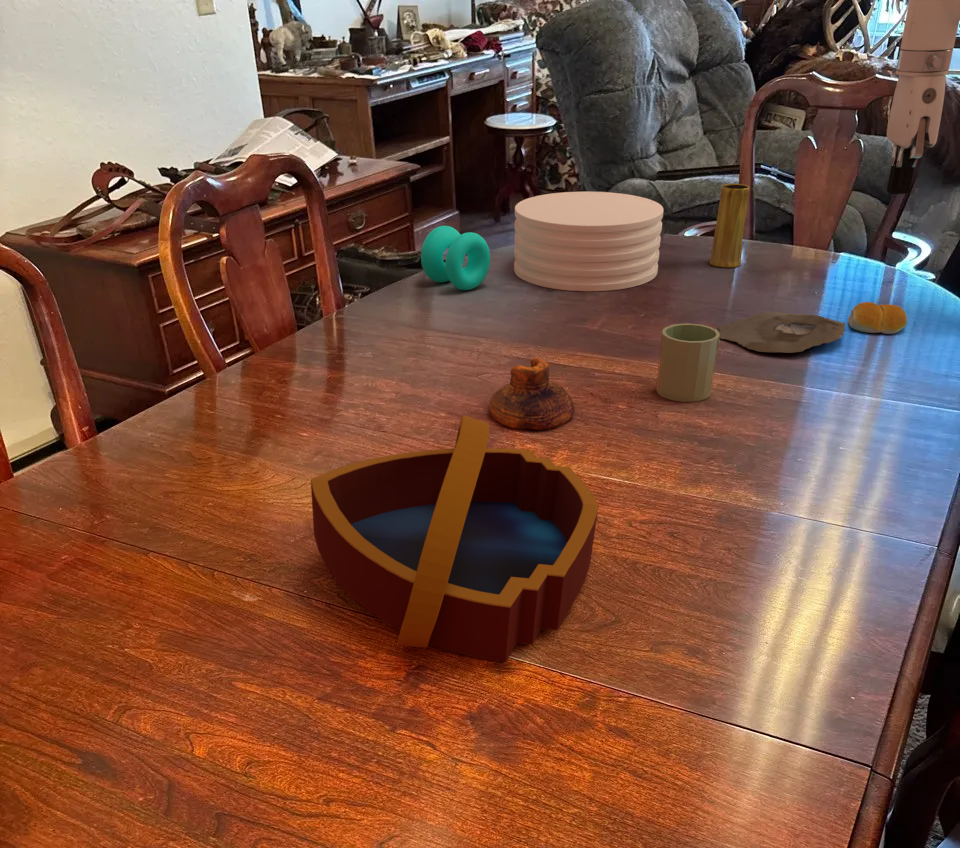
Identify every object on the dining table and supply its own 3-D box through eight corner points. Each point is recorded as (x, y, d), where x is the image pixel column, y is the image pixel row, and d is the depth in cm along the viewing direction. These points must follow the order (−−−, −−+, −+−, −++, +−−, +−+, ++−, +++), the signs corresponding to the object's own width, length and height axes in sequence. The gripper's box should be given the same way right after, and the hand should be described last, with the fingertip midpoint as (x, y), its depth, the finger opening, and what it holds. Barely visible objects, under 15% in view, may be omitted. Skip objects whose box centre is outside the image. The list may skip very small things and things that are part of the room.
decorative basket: (564, 702, 85) (601, 561, 76) (252, 632, 87) (252, 486, 78) (593, 522, 112) (623, 403, 103) (355, 471, 114) (364, 349, 105)
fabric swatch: (699, 338, 159) (699, 329, 158) (799, 307, 166) (800, 298, 165) (777, 368, 145) (778, 358, 144) (883, 333, 153) (884, 323, 152)
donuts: (458, 274, 185) (457, 220, 179) (493, 285, 179) (493, 229, 173) (418, 285, 180) (416, 229, 174) (453, 296, 174) (452, 239, 168)
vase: (733, 270, 186) (745, 191, 178) (704, 265, 189) (714, 187, 181) (745, 262, 190) (756, 185, 182) (716, 258, 193) (726, 181, 185)
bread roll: (909, 336, 155) (915, 311, 152) (851, 334, 156) (857, 309, 154) (899, 320, 161) (905, 296, 159) (844, 318, 162) (849, 294, 160)
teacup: (706, 381, 140) (714, 323, 135) (715, 402, 134) (724, 342, 129) (653, 381, 140) (658, 323, 135) (659, 402, 134) (666, 342, 129)
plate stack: (486, 276, 184) (486, 212, 178) (560, 244, 203) (563, 185, 196) (614, 300, 171) (619, 233, 165) (681, 264, 190) (688, 202, 183)
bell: (512, 438, 125) (513, 384, 121) (475, 405, 134) (474, 354, 129) (590, 422, 129) (593, 370, 124) (549, 391, 137) (551, 341, 133)
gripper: (968, 66, 140) (938, 201, 150) (930, 57, 152) (904, 182, 163) (916, 69, 140) (890, 203, 151) (882, 59, 152) (860, 184, 163)
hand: (897, 192), depth 157 cm, fingers closed
